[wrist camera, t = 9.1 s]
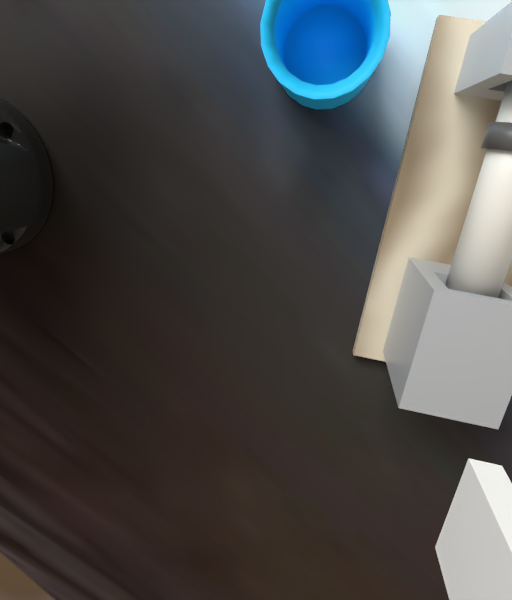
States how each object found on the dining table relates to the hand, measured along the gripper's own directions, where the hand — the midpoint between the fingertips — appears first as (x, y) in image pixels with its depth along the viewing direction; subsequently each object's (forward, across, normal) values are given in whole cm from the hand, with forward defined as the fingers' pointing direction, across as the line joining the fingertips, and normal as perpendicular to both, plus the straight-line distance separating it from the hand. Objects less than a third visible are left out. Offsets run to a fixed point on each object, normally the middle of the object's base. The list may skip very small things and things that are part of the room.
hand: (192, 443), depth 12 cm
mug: (+32, -1, +16) cm, 36 cm away
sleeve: (+31, +14, -4) cm, 34 cm away
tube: (+26, +14, +7) cm, 31 cm away
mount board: (+32, +14, +4) cm, 35 cm away
